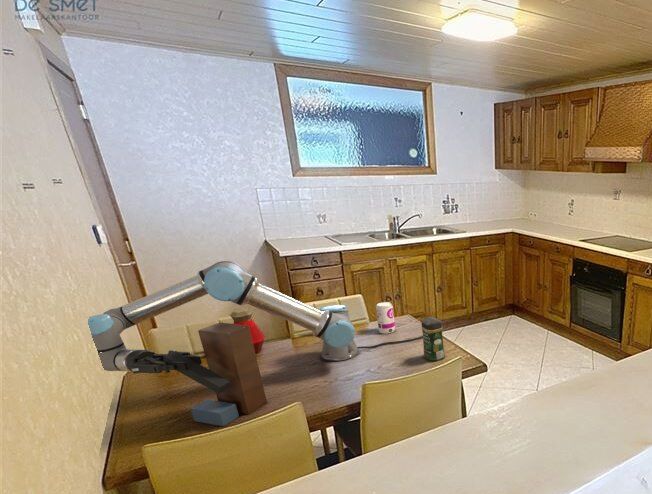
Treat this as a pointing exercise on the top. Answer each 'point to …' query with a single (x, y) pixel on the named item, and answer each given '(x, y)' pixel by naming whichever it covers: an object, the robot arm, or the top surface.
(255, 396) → the walnut post
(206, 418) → the base pad
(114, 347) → the robot arm
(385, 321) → the supplement can
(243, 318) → the bottle
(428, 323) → the coffee jar
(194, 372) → the back pad
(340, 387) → the top surface
